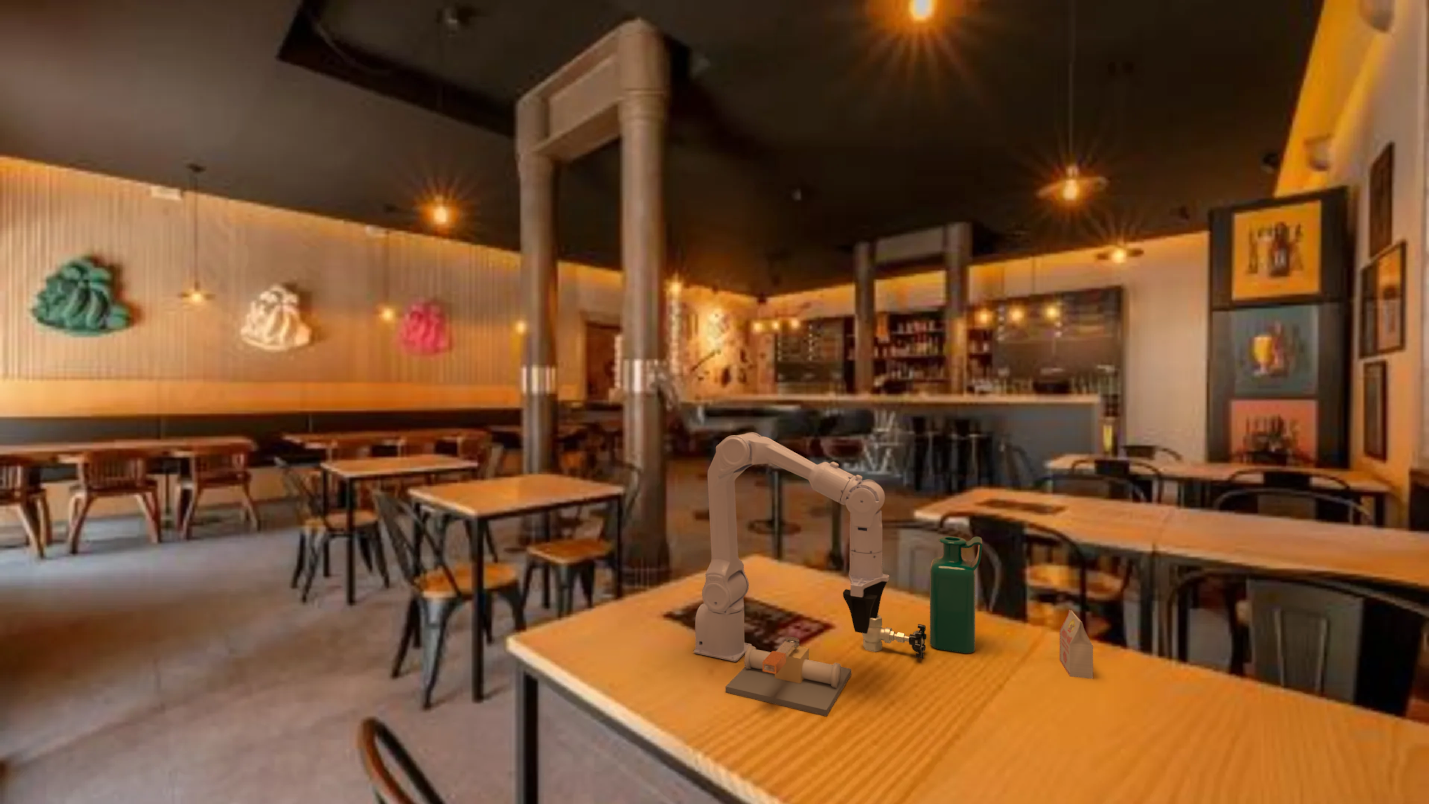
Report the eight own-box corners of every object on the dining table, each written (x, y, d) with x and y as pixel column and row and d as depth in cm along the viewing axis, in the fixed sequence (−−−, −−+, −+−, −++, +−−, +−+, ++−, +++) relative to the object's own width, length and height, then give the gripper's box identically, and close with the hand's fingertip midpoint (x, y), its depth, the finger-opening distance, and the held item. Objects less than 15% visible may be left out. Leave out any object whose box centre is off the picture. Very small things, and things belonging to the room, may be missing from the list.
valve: (857, 652, 122) (920, 665, 116) (857, 619, 122) (920, 631, 116) (866, 640, 128) (926, 652, 122) (866, 609, 128) (926, 619, 122)
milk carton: (1081, 662, 117) (1081, 610, 116) (1092, 678, 110) (1093, 623, 110) (1059, 660, 118) (1059, 608, 117) (1070, 676, 111) (1070, 621, 111)
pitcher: (929, 649, 123) (929, 540, 122) (931, 633, 131) (931, 531, 130) (982, 656, 119) (982, 544, 119) (981, 640, 127) (981, 534, 127)
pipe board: (725, 692, 106) (725, 661, 106) (760, 655, 121) (760, 628, 121) (826, 716, 98) (826, 683, 98) (851, 674, 113) (851, 645, 112)
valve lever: (787, 644, 112) (787, 634, 112) (801, 647, 111) (801, 636, 111) (762, 673, 101) (762, 661, 101) (776, 676, 100) (776, 664, 100)
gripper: (880, 562, 102) (880, 643, 102) (896, 542, 114) (896, 614, 115) (838, 557, 105) (838, 636, 105) (858, 538, 118) (858, 608, 118)
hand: (866, 624), depth 110 cm, fingers open, 7 cm apart
